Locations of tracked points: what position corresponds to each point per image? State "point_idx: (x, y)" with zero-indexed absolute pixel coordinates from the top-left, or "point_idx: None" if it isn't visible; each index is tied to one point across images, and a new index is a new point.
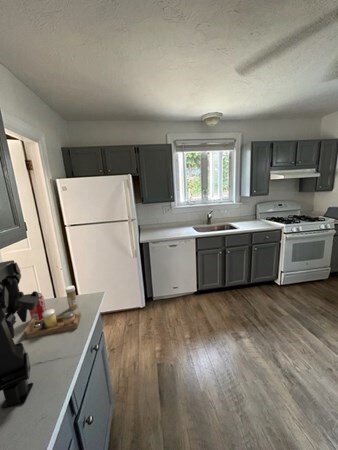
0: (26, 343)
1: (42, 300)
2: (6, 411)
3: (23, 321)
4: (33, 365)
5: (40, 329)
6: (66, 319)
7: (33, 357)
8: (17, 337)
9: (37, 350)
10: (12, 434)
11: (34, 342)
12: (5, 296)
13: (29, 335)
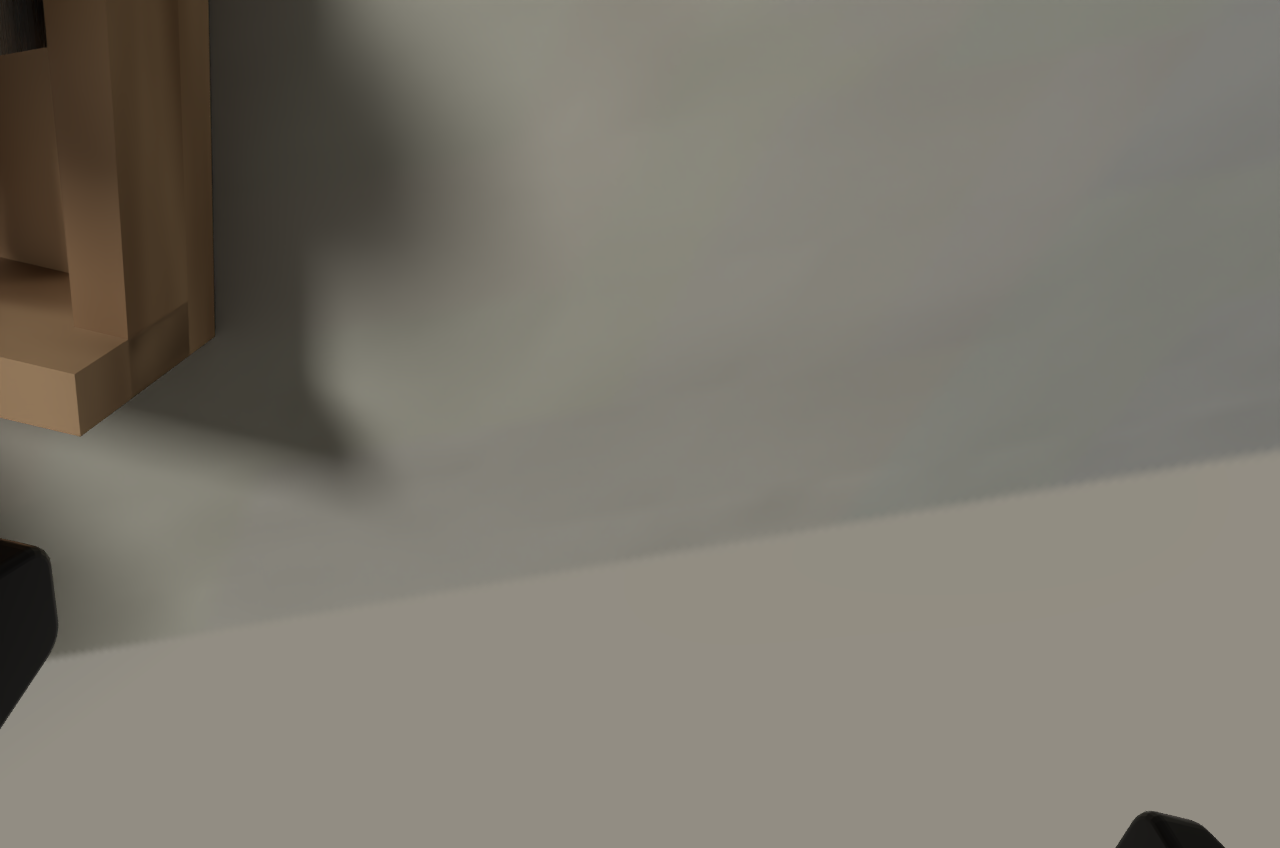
0: (320, 296)
1: None
2: None
3: (28, 639)
4: (1154, 12)
5: (22, 26)
6: None
7: (867, 64)
8: (86, 482)
9: (664, 14)
10: None
11: (346, 137)
12: None
13: (157, 276)
